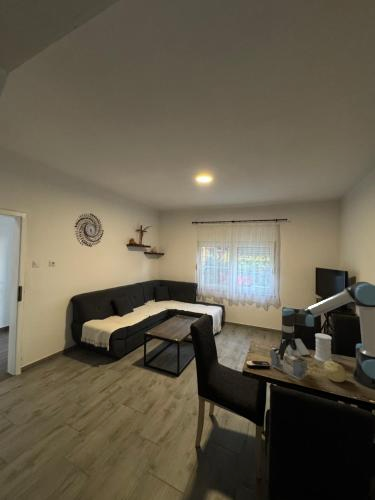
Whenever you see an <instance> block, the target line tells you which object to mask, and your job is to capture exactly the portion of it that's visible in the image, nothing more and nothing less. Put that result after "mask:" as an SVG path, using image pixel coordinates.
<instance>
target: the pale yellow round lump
mask: <svg viewBox="0 0 375 500" xmlns="http://www.w3.org/2000/svg"><path fill="white" fill-rule="evenodd" d="M322 363H323V364H322V366H323V370H324V373H325V377H326V378H327V379H329V380H330V381H332V382H335V383H342V382H345V381H346V380H347V372H346V371H347V370H346V369H345V367H343V366H342V365H341V364H339V363H338V362H335V361H333V360H332V361H326V362H325V363H324V362H322Z"/></svg>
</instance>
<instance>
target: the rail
mask: <svg viewBox="0 0 375 500" xmlns="http://www.w3.org/2000/svg"><path fill="white" fill-rule="evenodd" d="M276 352H277V359H278V360H280V355H279V354H278V352H279V350H278V351H276ZM284 355H285V364H286V365H288V366H291V367H293V360H295V361H298V362H302V360H300V359H299V357H298V358H297V356H295V357H293V356H291V355H289V354H288V353H286V352H285V353H284Z"/></svg>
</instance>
